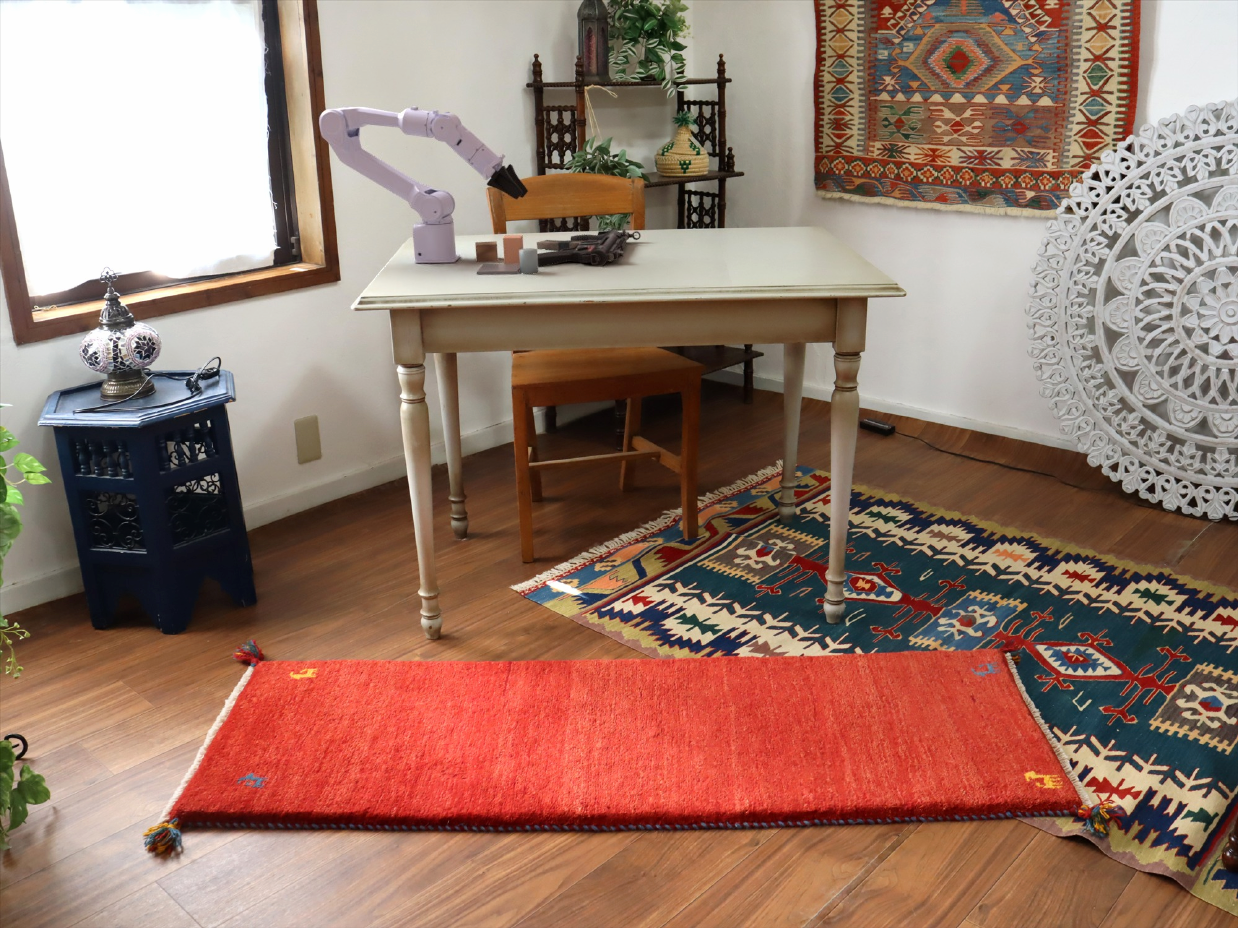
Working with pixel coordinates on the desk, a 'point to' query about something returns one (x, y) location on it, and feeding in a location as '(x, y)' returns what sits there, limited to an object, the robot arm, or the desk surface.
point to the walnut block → (486, 251)
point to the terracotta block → (512, 248)
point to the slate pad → (499, 268)
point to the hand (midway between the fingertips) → (522, 195)
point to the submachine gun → (585, 248)
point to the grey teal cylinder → (528, 261)
